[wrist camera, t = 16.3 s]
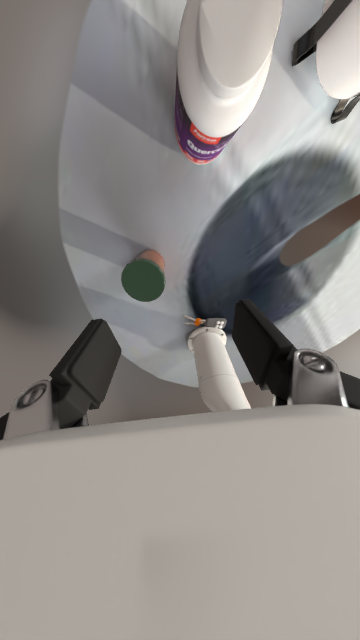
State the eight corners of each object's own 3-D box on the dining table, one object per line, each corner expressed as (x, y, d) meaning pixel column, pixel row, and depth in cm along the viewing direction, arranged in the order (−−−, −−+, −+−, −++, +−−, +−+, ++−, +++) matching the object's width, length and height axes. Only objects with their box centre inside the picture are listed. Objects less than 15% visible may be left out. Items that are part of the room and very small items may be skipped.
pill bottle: (179, 171, 24) (187, 128, 12) (168, 86, 19) (165, -123, 7) (228, 160, 23) (286, 103, 11) (230, 70, 18) (332, -184, 7)
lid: (117, 260, 22) (114, 263, 21) (161, 255, 22) (160, 257, 21) (131, 299, 26) (129, 304, 25) (168, 295, 26) (167, 299, 25)
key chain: (226, 316, 42) (227, 319, 41) (222, 326, 44) (224, 329, 43) (182, 314, 41) (183, 317, 40) (181, 324, 43) (181, 327, 42)
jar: (166, 275, 34) (165, 295, 25) (141, 279, 34) (132, 299, 25) (161, 247, 30) (158, 259, 22) (134, 251, 30) (119, 265, 22)
